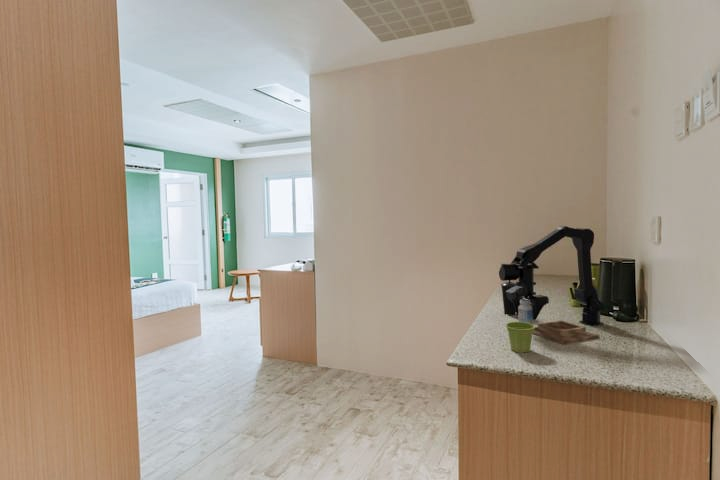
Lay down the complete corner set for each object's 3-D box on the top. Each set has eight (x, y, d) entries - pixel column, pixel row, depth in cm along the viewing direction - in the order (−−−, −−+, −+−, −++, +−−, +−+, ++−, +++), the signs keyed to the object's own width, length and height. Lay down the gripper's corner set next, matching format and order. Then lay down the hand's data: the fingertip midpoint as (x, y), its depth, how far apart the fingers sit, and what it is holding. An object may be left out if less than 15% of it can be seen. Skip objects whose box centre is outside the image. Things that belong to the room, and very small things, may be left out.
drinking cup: (500, 315, 190) (500, 272, 189) (501, 311, 197) (501, 269, 196) (518, 316, 187) (518, 272, 186) (518, 312, 194) (518, 270, 193)
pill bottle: (533, 325, 173) (533, 298, 172) (535, 329, 167) (535, 301, 166) (517, 324, 174) (517, 298, 174) (519, 328, 168) (518, 301, 168)
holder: (560, 325, 171) (560, 317, 170) (599, 337, 154) (599, 328, 154) (525, 331, 164) (525, 322, 164) (562, 344, 147) (562, 335, 147)
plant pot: (532, 356, 137) (532, 330, 136) (503, 352, 142) (502, 327, 141) (537, 348, 145) (537, 323, 144) (509, 344, 150) (509, 320, 149)
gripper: (494, 278, 175) (495, 314, 176) (527, 284, 158) (527, 325, 159) (515, 275, 179) (516, 311, 180) (549, 282, 162) (549, 321, 163)
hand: (526, 317), depth 170 cm, fingers open, 9 cm apart
